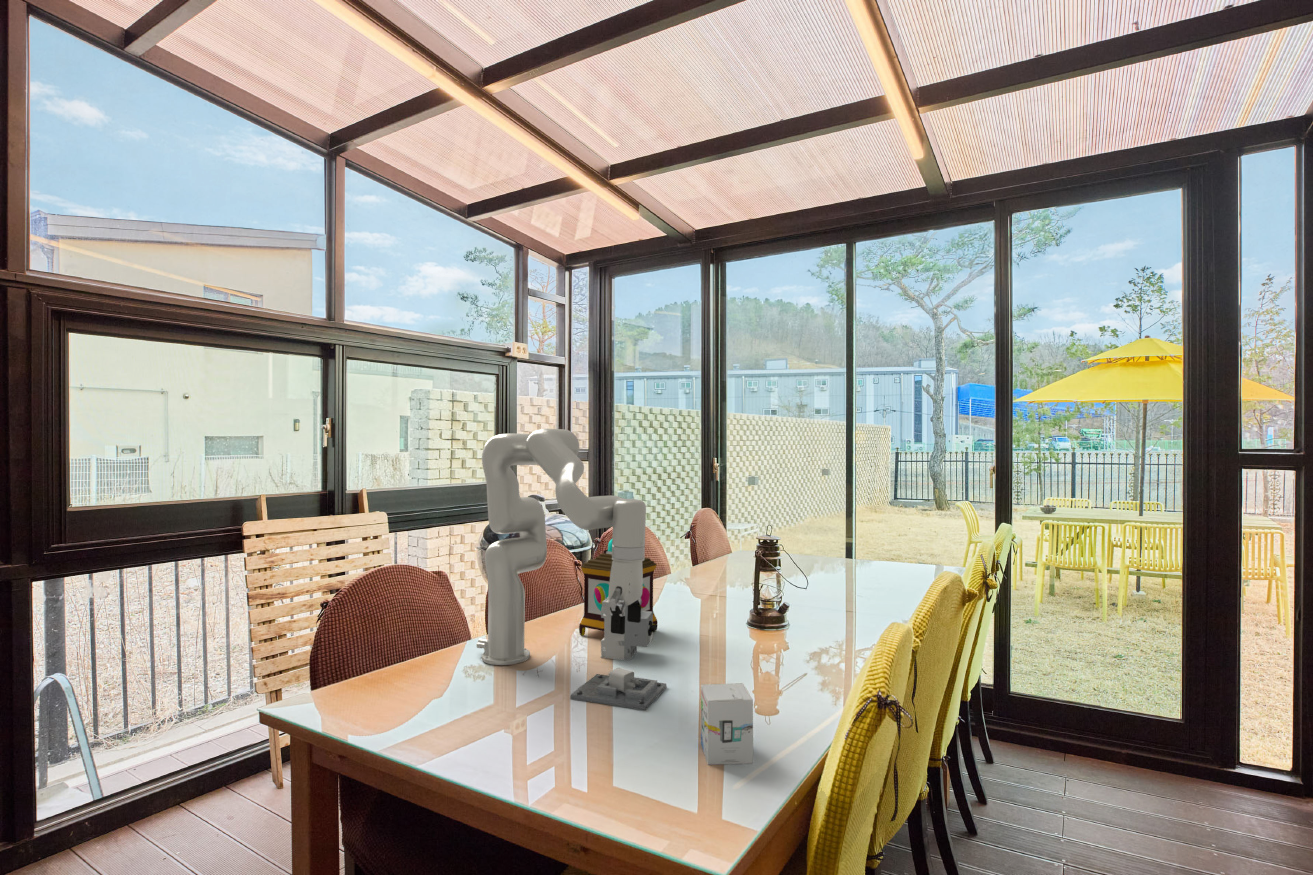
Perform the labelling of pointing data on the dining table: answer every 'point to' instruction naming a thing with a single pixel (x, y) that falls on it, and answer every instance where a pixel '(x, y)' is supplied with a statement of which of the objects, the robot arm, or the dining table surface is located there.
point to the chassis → (619, 693)
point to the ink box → (726, 724)
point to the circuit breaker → (625, 634)
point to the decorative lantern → (599, 589)
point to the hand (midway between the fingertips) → (626, 627)
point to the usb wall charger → (622, 679)
